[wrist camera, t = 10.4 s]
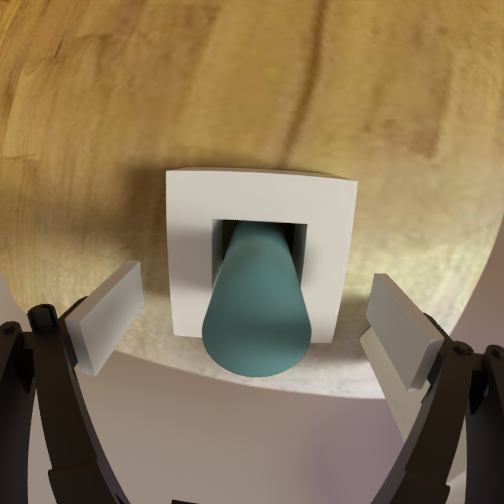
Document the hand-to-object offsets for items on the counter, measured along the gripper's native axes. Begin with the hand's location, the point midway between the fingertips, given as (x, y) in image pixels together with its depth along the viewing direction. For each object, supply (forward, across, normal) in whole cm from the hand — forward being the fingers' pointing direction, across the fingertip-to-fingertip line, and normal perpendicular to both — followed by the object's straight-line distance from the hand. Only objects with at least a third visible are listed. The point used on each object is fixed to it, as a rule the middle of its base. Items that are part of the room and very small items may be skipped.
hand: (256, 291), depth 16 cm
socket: (+10, 0, 0) cm, 10 cm away
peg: (+10, 0, 0) cm, 10 cm away
